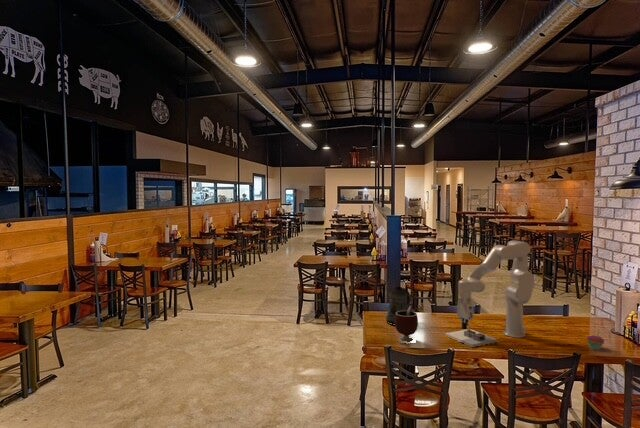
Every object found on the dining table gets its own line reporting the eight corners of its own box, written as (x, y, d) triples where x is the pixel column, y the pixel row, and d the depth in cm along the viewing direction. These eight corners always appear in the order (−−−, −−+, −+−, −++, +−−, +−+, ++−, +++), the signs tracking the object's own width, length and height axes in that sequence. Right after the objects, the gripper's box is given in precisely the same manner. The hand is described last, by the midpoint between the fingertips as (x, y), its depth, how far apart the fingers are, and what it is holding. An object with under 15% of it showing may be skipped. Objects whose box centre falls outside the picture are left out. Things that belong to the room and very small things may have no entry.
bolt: (463, 333, 253) (463, 324, 253) (466, 333, 254) (466, 324, 254) (475, 338, 244) (475, 329, 244) (478, 338, 245) (478, 328, 244)
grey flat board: (445, 336, 255) (445, 328, 255) (469, 331, 263) (469, 324, 263) (471, 347, 235) (471, 339, 235) (497, 342, 243) (497, 334, 243)
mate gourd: (413, 346, 239) (413, 312, 238) (391, 342, 246) (391, 310, 246) (421, 338, 252) (421, 306, 252) (400, 335, 259) (400, 304, 259)
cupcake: (597, 345, 236) (597, 325, 235) (608, 350, 227) (608, 329, 227) (582, 345, 235) (583, 325, 235) (593, 351, 227) (593, 330, 227)
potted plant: (382, 324, 282) (382, 289, 281) (391, 317, 299) (391, 283, 298) (406, 327, 274) (405, 291, 273) (413, 320, 291) (413, 285, 290)
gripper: (478, 301, 248) (478, 331, 248) (460, 296, 261) (460, 324, 262) (468, 303, 245) (469, 333, 245) (451, 298, 258) (451, 326, 259)
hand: (464, 328), depth 253 cm, fingers closed
